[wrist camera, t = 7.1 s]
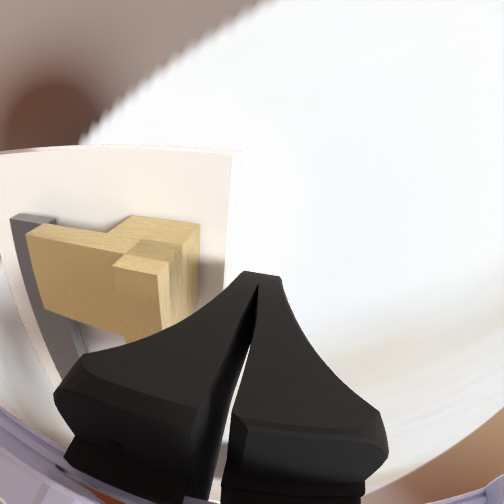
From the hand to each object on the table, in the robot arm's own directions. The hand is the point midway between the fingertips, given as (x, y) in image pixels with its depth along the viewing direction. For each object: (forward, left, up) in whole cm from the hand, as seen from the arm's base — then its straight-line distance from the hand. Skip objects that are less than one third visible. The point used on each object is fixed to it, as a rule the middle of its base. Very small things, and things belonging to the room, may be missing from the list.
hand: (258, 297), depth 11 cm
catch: (0, +6, -2) cm, 6 cm away
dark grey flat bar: (-7, +11, -1) cm, 13 cm away
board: (-6, +10, -3) cm, 12 cm away
